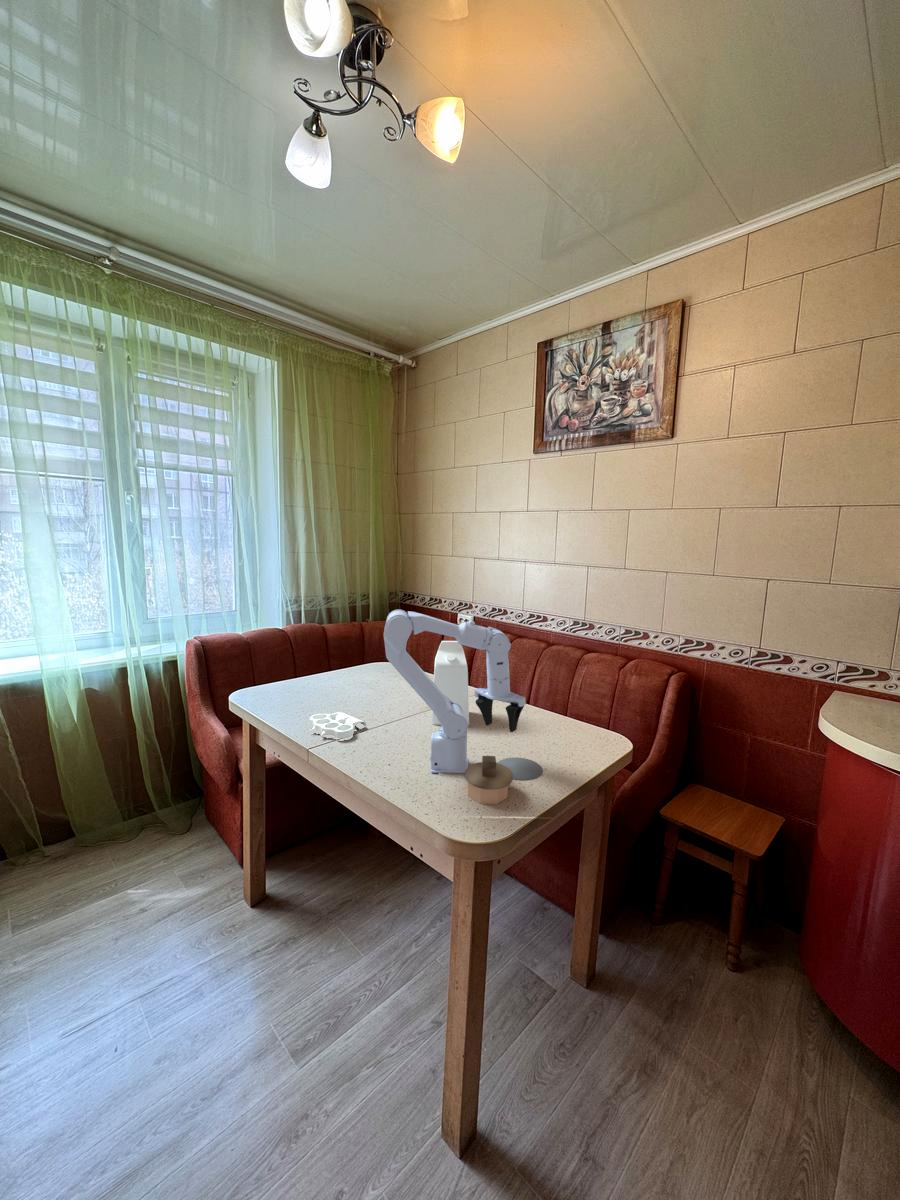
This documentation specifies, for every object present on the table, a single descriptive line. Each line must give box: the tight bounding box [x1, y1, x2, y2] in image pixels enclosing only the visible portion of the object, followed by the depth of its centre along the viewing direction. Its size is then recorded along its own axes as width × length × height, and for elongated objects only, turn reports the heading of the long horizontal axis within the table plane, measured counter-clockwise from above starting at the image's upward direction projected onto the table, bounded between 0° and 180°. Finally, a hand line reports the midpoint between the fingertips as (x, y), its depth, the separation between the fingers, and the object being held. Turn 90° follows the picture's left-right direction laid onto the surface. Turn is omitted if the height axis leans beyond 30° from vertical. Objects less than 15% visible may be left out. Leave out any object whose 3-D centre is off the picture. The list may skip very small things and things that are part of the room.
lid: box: [464, 755, 514, 789], centre depth 103 cm, size 11×11×4 cm
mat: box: [497, 756, 544, 782], centre depth 115 cm, size 12×12×1 cm
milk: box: [431, 640, 470, 726], centre depth 148 cm, size 12×12×26 cm
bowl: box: [466, 781, 509, 805], centre depth 104 cm, size 9×9×4 cm
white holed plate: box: [309, 711, 367, 739], centre depth 139 cm, size 3×18×15 cm
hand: (500, 727), depth 117 cm, fingers open, 7 cm apart
